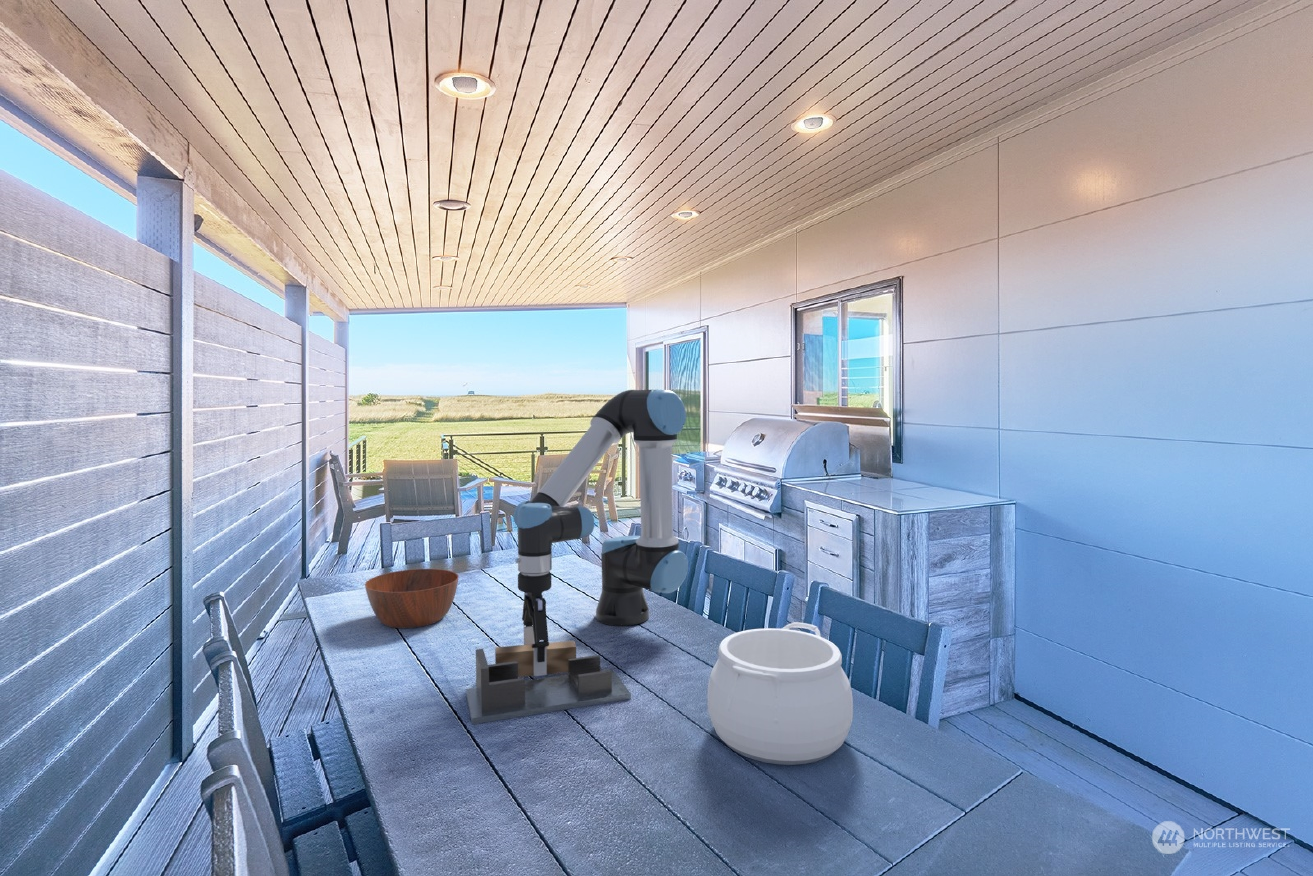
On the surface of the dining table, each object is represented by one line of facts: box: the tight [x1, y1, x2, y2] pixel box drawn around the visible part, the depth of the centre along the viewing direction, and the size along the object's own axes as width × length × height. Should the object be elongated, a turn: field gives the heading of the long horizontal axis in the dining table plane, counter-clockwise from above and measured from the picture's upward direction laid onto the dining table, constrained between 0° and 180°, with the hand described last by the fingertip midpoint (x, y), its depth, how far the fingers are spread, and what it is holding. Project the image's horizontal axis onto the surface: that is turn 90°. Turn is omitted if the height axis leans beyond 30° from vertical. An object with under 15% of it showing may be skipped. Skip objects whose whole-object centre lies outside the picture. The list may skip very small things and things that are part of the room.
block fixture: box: [465, 648, 632, 725], centre depth 142 cm, size 32×14×10 cm, turn 110°
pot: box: [706, 621, 854, 766], centre depth 125 cm, size 29×26×17 cm
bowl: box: [364, 568, 460, 629], centre depth 192 cm, size 25×25×11 cm
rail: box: [494, 640, 577, 678], centre depth 155 cm, size 18×4×6 cm, turn 104°
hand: (534, 664), depth 155 cm, fingers open, 13 cm apart
